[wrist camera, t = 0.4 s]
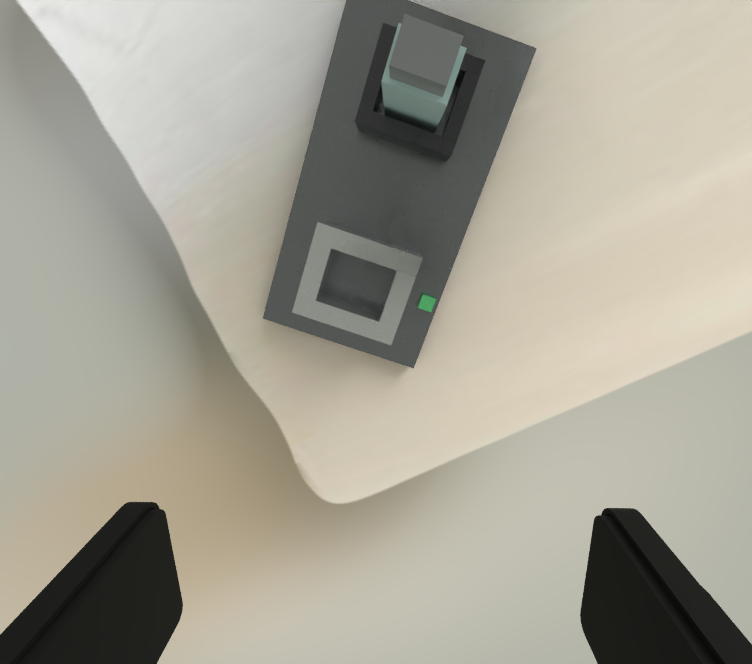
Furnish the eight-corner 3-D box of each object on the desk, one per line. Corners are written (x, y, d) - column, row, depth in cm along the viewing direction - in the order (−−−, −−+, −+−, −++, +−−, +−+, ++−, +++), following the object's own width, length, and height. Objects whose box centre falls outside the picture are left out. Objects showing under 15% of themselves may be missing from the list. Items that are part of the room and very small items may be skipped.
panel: (354, -9, 30) (345, -53, 25) (529, 56, 31) (554, 26, 26) (268, 314, 37) (249, 328, 32) (412, 362, 38) (415, 383, 33)
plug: (397, 73, 30) (399, 4, 20) (448, 91, 30) (473, 31, 21) (384, 115, 31) (380, 68, 21) (434, 133, 31) (451, 94, 21)
